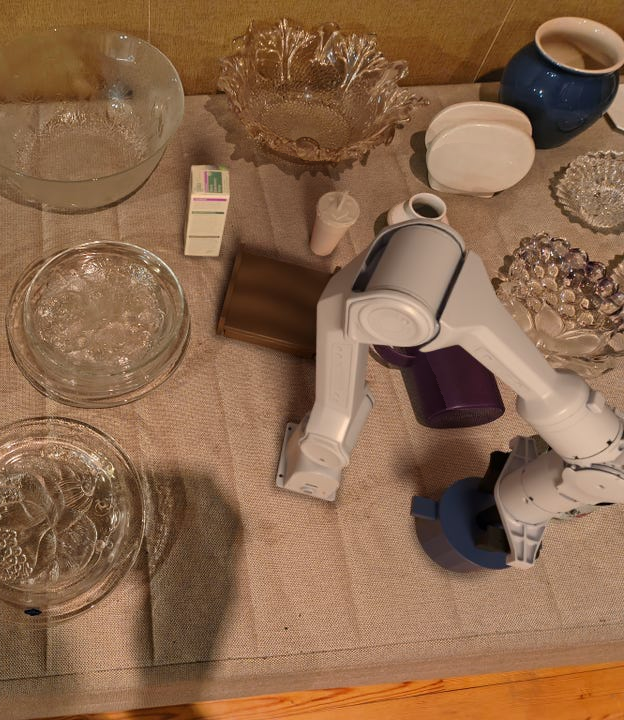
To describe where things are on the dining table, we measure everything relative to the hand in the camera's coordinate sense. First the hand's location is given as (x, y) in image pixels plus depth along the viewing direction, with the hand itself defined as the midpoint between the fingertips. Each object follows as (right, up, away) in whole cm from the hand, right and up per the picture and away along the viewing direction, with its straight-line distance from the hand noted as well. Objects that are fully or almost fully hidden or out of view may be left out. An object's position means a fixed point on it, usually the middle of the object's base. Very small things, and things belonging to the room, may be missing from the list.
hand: (484, 518), depth 80 cm
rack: (-21, +27, +22) cm, 40 cm away
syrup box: (-32, +38, +27) cm, 57 cm away
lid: (0, -1, +1) cm, 1 cm away
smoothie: (-12, +37, +28) cm, 48 cm away
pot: (0, -4, +7) cm, 8 cm away
